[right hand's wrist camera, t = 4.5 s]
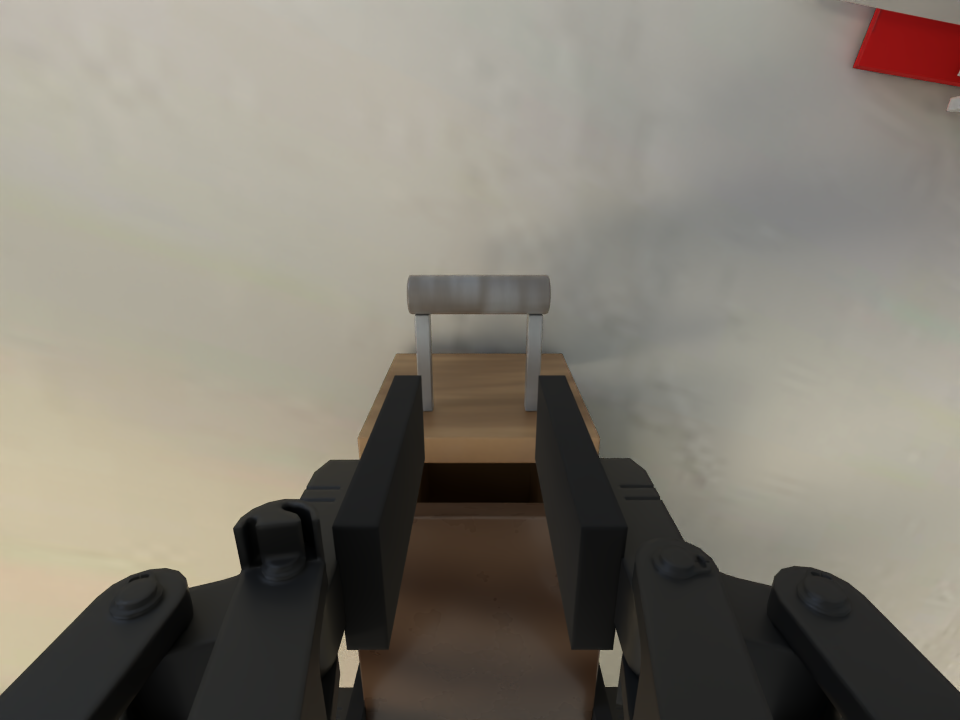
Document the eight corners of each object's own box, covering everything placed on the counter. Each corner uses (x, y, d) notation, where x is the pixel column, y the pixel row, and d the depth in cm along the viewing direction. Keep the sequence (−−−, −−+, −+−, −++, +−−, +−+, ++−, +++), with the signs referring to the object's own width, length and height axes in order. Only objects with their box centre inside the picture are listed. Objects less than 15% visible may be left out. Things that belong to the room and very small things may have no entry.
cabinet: (391, 393, 31) (342, 517, 20) (567, 393, 31) (615, 517, 20) (404, 599, 37) (372, 784, 26) (553, 599, 37) (585, 784, 26)
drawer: (389, 248, 27) (343, 289, 18) (568, 249, 27) (614, 289, 18) (408, 561, 34) (382, 704, 25) (550, 561, 34) (575, 704, 25)
